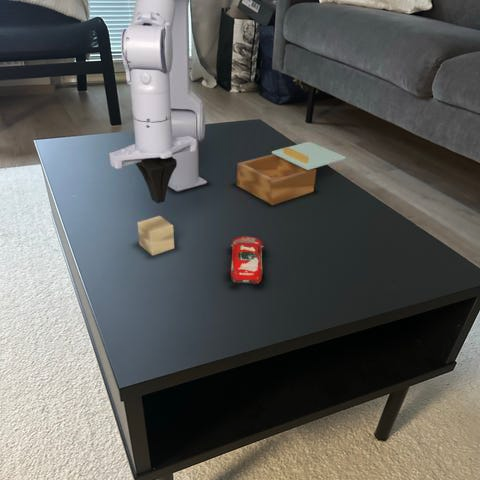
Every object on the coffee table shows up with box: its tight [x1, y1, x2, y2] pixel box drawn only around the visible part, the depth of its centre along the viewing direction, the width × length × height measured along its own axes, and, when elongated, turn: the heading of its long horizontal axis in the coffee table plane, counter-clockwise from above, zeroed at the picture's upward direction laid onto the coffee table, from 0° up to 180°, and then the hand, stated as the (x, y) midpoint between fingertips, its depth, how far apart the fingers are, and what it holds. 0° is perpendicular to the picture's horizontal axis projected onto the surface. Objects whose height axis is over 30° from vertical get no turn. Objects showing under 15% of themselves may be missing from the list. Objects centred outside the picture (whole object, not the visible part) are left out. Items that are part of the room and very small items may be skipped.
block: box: [137, 215, 175, 256], centre depth 87 cm, size 4×4×4 cm
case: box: [236, 153, 317, 206], centre depth 108 cm, size 12×12×5 cm
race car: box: [230, 235, 265, 285], centre depth 84 cm, size 13×5×4 cm, turn 177°
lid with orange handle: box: [271, 141, 347, 170], centre depth 111 cm, size 12×12×2 cm
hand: (158, 200), depth 84 cm, fingers closed
